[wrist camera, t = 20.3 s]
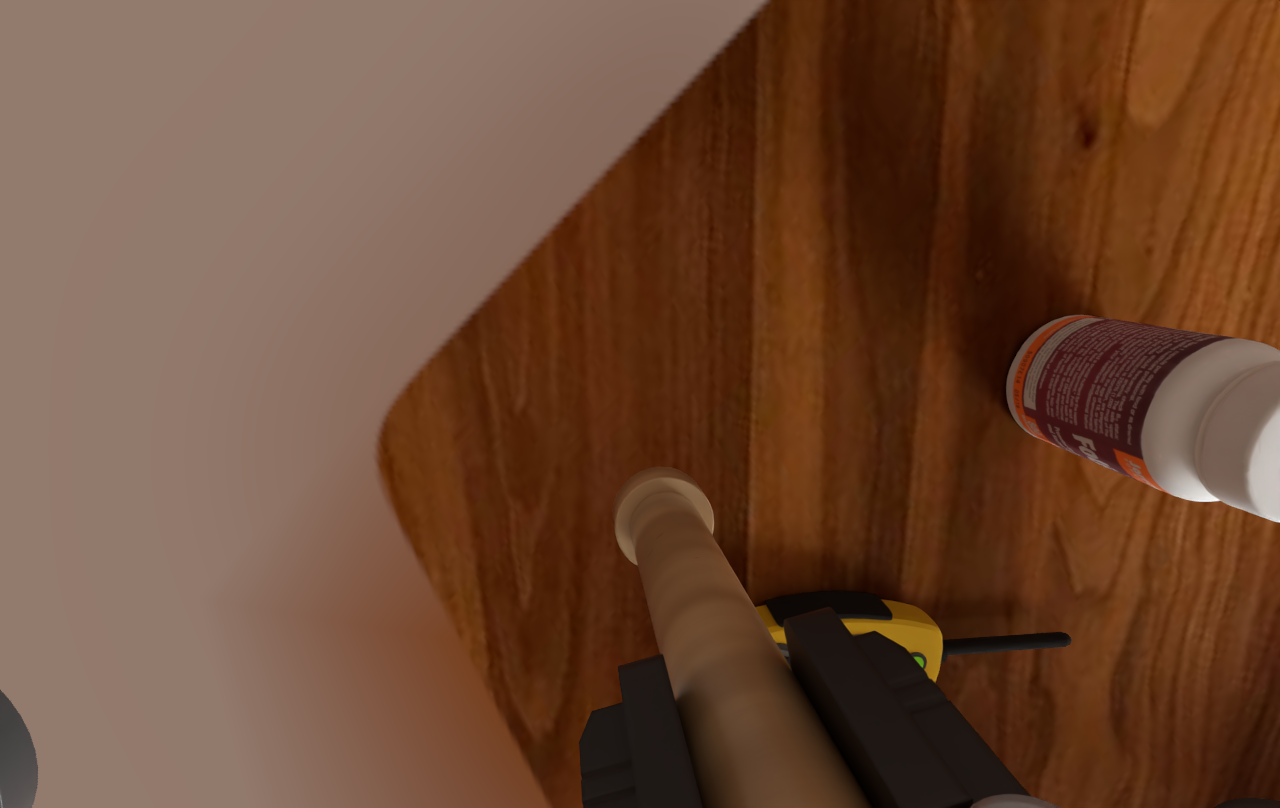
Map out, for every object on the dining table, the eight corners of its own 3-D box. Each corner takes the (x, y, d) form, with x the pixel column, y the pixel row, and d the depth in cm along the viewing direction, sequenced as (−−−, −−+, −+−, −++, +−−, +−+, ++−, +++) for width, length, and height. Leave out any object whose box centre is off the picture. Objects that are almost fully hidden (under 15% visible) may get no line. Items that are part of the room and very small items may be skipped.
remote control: (718, 624, 22) (1105, 601, 24) (706, 594, 24) (1067, 575, 26) (711, 740, 24) (1080, 709, 26) (700, 703, 26) (1045, 677, 27)
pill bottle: (985, 430, 24) (1202, 529, 16) (1024, 303, 23) (1280, 342, 15) (1094, 446, 25) (1353, 548, 17) (1137, 324, 24) (1437, 371, 16)
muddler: (594, 529, 19) (658, 1165, 5) (643, 449, 19) (851, 885, 5) (675, 572, 20) (932, 1257, 6) (723, 493, 19) (1118, 1008, 5)
